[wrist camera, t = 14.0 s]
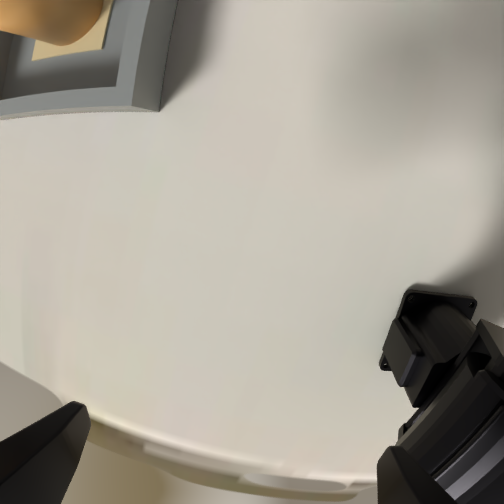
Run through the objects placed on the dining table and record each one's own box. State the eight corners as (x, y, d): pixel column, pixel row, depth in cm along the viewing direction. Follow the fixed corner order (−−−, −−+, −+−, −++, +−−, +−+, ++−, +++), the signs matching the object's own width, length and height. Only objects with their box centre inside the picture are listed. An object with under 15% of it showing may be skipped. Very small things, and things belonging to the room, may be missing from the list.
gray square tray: (196, -70, 13) (182, -101, 9) (159, 112, 17) (131, 105, 13) (36, -34, 13) (8, -49, 9) (0, 120, 18) (-36, 122, 14)
